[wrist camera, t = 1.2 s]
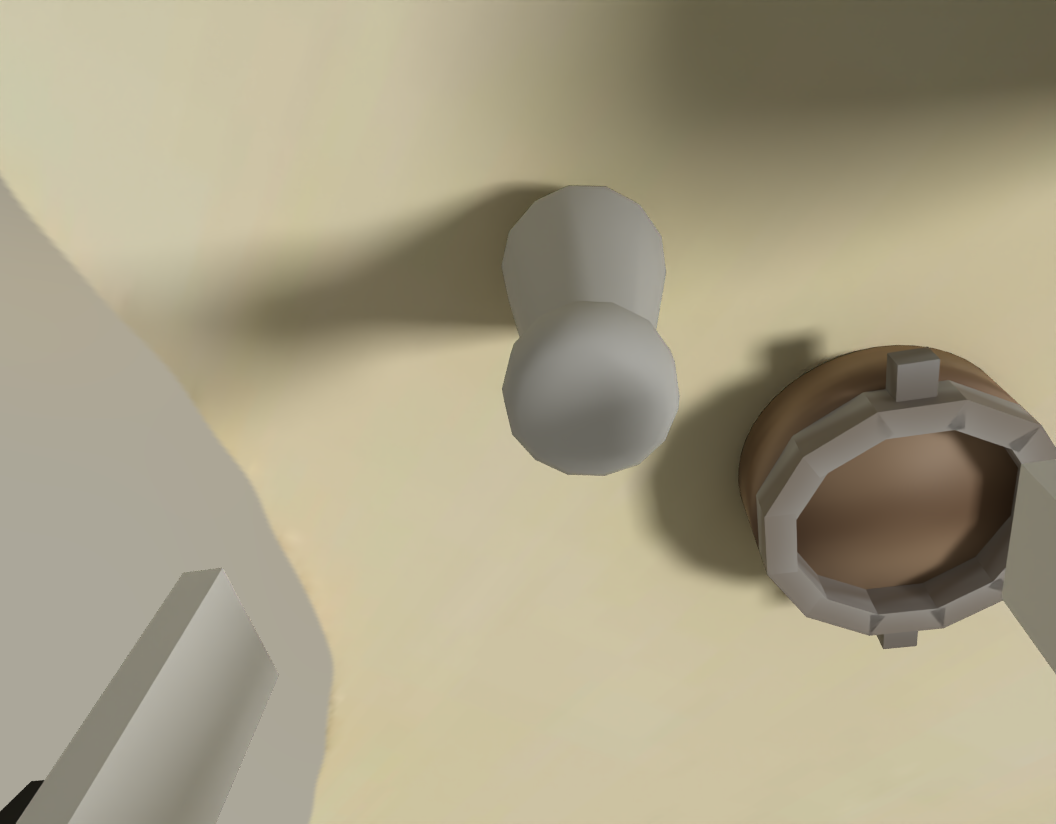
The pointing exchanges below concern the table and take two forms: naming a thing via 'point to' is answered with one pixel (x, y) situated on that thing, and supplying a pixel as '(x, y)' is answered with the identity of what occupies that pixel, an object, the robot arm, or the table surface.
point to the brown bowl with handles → (889, 489)
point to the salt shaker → (587, 333)
